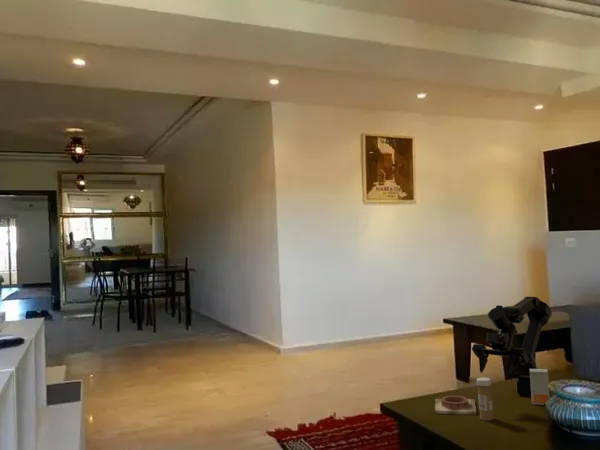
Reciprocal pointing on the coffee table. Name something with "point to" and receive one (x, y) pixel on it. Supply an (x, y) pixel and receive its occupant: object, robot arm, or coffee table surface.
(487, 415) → the sprinkles bottle
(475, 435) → the coffee table surface
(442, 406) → the collar base
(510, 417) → the coffee table surface
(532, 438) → the coffee table surface
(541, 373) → the skincare box
